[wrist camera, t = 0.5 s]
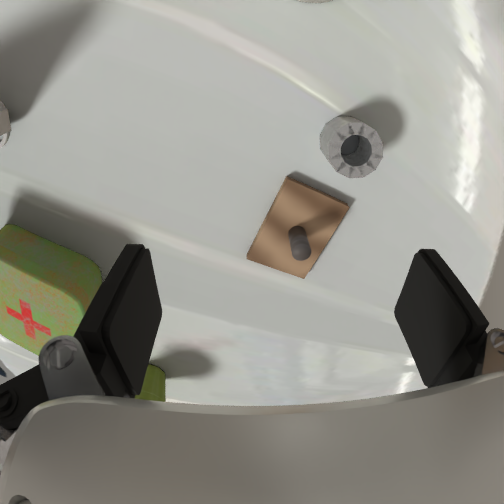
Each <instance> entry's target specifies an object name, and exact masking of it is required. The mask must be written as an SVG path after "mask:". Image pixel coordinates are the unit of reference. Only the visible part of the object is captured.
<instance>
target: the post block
mask: <svg viewBox="0 0 504 504" xmlns="http://www.w3.org/2000/svg"><path fill="white" fill-rule="evenodd" d="M348 209H349V206H348V204H347V203H345V202H343V201H341V200H338V199H336V198H334V197H332V196H330V195H328V194H326V193H324V192H321V191H319V190H317V189H315V188H313V187H310V186H308V185H306V184H304V183H301V182H299V181H297V180H295V179H292V178H290V177H288V176H286V178H285V180H284V182H283V184H282V186H281V188H280V190H279V192H278V194H277V196H276V198H275V200H274V202H273V204H272V206H271V208H270V210H269V212H268V214H267V216H266V218H265V220H264V222H263V224H262V225H261V227H260V229H259V231H258V233H257V235H256V237H255V239H254V241H253V243H252V245H251V247H250V249H249V251H248V253H247V259H248V260H251V261H254V262H257V263H260V264H263V265H266V266H268V267H271V268H274V269H277V270H280V271H283V272H286V273H289V274H291V275H294V276H297V277H300V278H303V279H304V278H305V276H306V275H307V273H308V272H309V270H310V269H311V267H312V266H313V264H314V263H315V261H316V260H317V258H318V257H319V255H320V253H321V252H322V250H323V249H324V247H325V246H326V244H327V243H328V241H329V239H330V238H331V236H332V235H333V233H334V231H335V230H336V228H337V227H338V225H339V223H340V222H341V220H342V219H343V217H344V215H345V214H346V212H347V210H348Z"/></svg>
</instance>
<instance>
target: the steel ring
mask: <svg viewBox="0 0 504 504" xmlns="http://www.w3.org/2000/svg"><path fill="white" fill-rule="evenodd" d="M351 135H358V137H359V145H358V147H357V149H356V151H355V152H353V153H351V154H350V155H341V146H342V144H343V142H344V140H345V139H346V138H348V137H350V136H351ZM320 149H321V151H322V152H323V154H324V155H325V157H326V159H327V160H328V161H329V163H330V164H331V165H332V166H333V168H334V169H335V170H336V172H338V173H340V174H342V175H344V176H346V177H348V178H361V177H365V176H366V175H368V174H370V173H371V172H373V171H374V170H376V168H377V166H378V165H379V163H380V161H381V159H382V158H383V142H382V140H381V138H380V137H379V135H378V133H377V131H376V130H375V129H373V128H372V127H370V126H368V125H367V124H365V123H363V122H361V121H359V120H357V119H355V118H353V117H351V116H337V117H336V118H334V119H333V120H331V121H329V122H328V123H326V124H325V126H324V128H323V130H322V132H321V134H320Z"/></svg>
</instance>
